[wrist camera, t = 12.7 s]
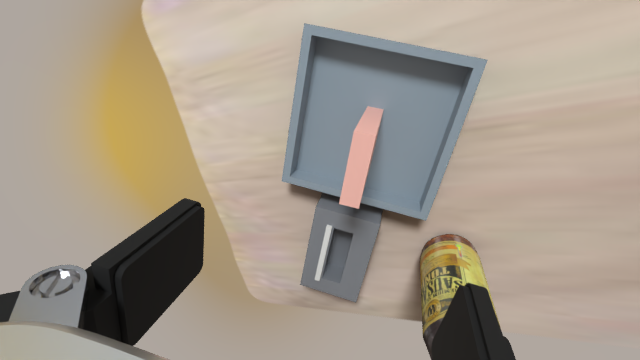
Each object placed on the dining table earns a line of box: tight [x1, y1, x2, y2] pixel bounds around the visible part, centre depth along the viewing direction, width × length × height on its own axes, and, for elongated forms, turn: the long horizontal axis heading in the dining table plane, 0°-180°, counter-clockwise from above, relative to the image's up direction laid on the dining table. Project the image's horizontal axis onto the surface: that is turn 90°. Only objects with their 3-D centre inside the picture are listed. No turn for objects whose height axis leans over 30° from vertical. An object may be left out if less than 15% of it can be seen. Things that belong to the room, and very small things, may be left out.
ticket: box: [339, 106, 384, 209], centre depth 28 cm, size 2×6×10 cm, turn 171°
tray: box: [282, 23, 487, 221], centre depth 32 cm, size 16×16×3 cm
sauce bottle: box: [420, 234, 500, 360], centre depth 28 cm, size 6×6×20 cm
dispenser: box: [300, 193, 383, 302], centre depth 38 cm, size 7×11×4 cm, turn 169°
